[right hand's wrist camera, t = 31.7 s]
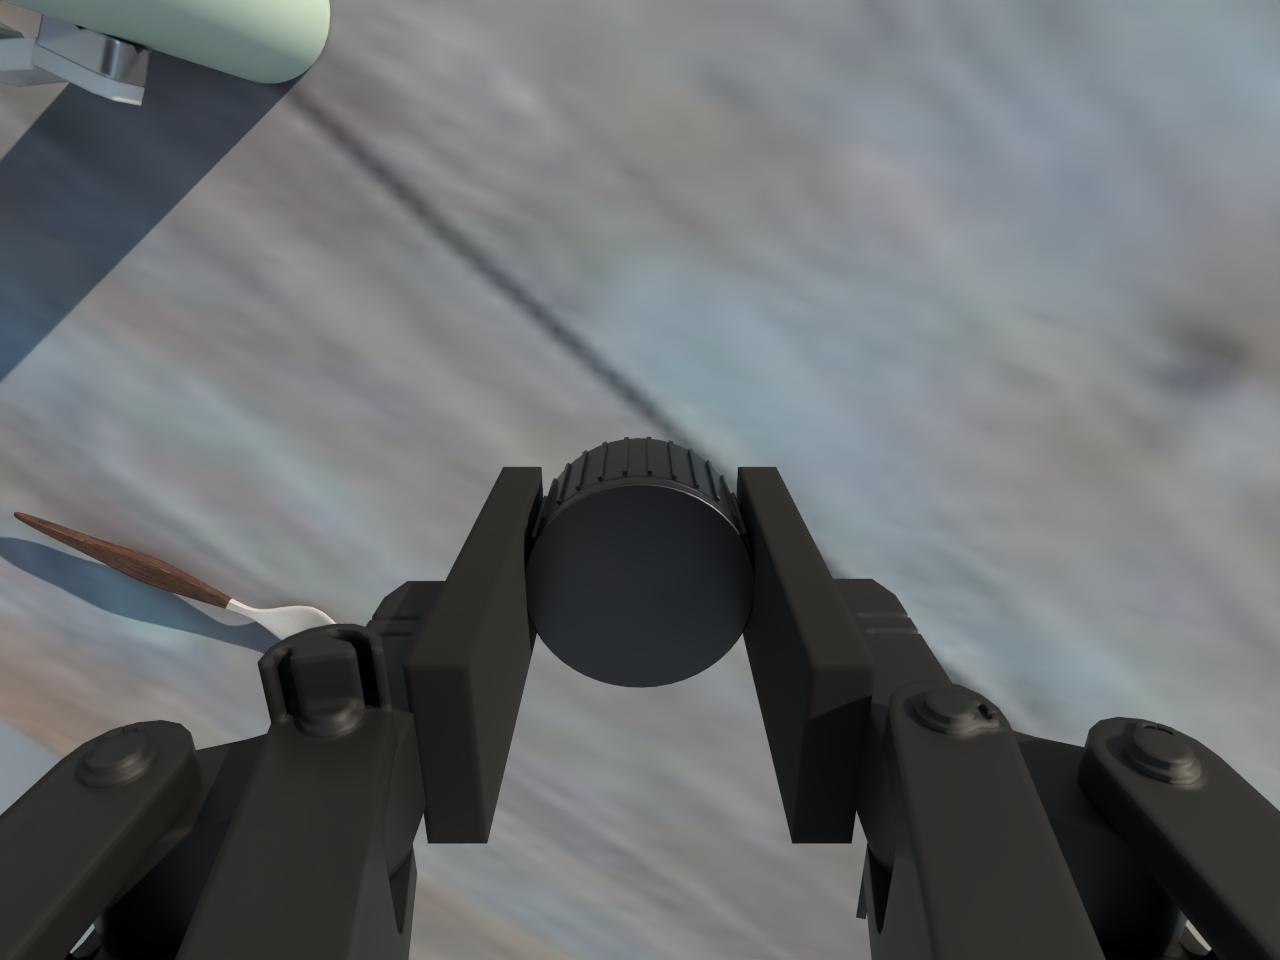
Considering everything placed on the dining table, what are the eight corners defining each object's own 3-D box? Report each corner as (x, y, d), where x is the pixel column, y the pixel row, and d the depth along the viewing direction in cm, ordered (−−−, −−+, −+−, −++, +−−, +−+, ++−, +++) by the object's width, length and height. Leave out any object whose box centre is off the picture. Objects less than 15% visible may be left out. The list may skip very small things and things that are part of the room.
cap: (505, 566, 15) (481, 631, 13) (597, 397, 14) (588, 437, 11) (676, 646, 16) (682, 723, 13) (779, 493, 14) (806, 549, 12)
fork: (30, 482, 30) (-10, 501, 28) (390, 638, 33) (375, 664, 31) (18, 533, 31) (-23, 554, 29) (370, 680, 33) (354, 709, 32)
